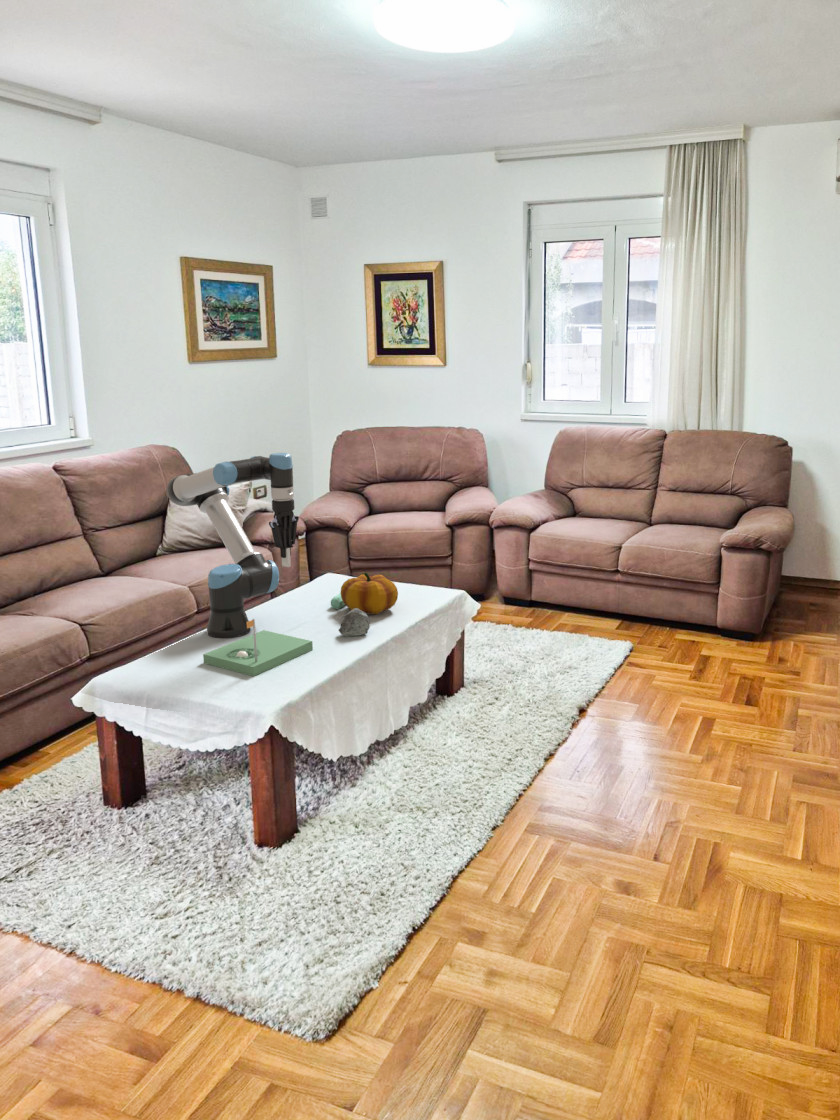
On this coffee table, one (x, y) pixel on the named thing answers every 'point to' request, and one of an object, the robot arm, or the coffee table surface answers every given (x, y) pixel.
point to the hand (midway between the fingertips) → (286, 566)
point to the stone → (354, 623)
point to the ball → (241, 654)
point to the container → (337, 602)
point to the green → (258, 652)
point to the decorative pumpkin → (369, 593)
